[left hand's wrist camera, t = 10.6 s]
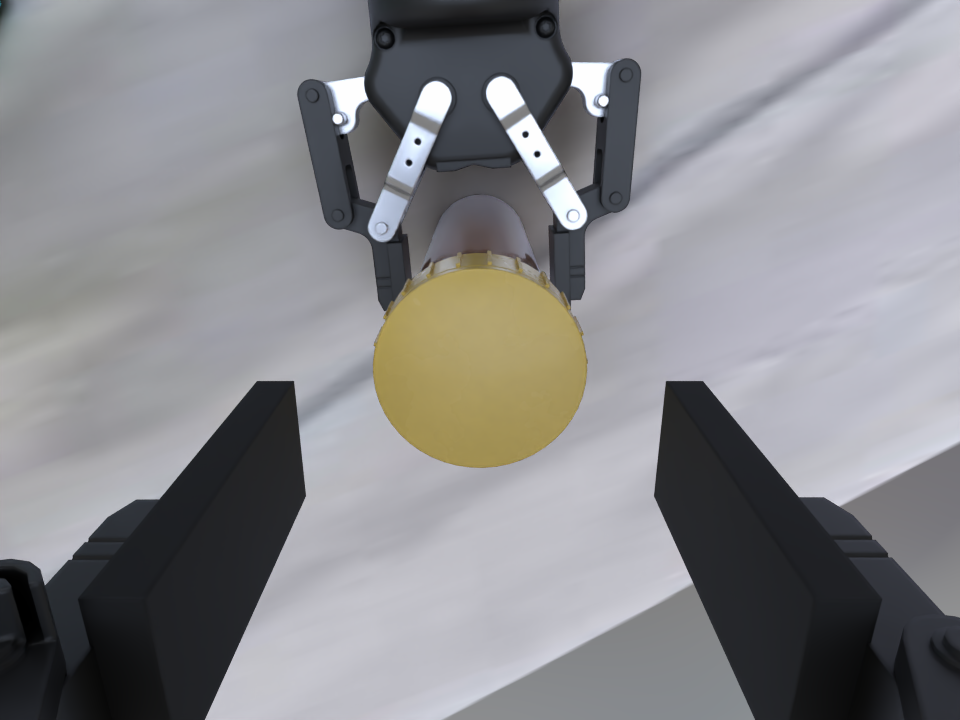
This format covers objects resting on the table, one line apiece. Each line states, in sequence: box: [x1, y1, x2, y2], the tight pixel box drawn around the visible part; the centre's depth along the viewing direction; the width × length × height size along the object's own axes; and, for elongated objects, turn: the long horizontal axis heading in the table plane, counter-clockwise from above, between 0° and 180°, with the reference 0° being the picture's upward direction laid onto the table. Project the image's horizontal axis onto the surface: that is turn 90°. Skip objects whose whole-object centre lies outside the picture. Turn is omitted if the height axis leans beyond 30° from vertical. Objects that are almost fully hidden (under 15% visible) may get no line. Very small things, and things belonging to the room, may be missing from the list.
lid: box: [373, 251, 588, 468], centre depth 19 cm, size 6×6×2 cm
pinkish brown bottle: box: [419, 195, 541, 273], centre depth 27 cm, size 5×5×19 cm
